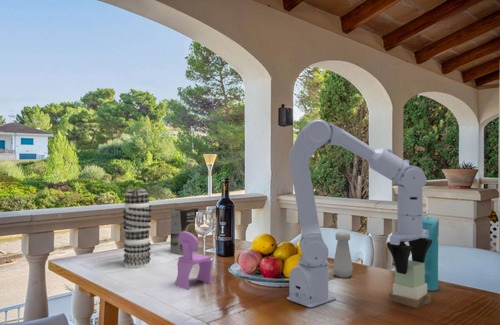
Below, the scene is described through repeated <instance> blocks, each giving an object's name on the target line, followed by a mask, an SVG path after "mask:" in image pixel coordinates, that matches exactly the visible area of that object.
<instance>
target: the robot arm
mask: <svg viewBox="0 0 500 325" xmlns="http://www.w3.org/2000/svg"><path fill="white" fill-rule="evenodd" d="M324 144H326V145H327V146H340V147H341V148H343V149H346V150H347V151H349V152H351V153H353V154H355V155H357V156H359V157H361V158H362V159H364V160H366V161H367V162H368V166H369V168H370V169H371V170H373V171H374V172H377V173H378V174H379V175H382V176H383V177H385V178H387V179H389V180H391V181H393V182H394V183H395V185H396V186H397V198H396V199H397V200H396V202H397V209H396V210H397V217H396V218H397V227H396V228H397V229H396V230H397V231H396V232H395V233H393V234H391V235H389V241H387V243H386V245H387V246H386V247H387V248H388V250H389V252H390V254H391V256H392V258H393V261H394V262H393V263H394V267H395V266H396V270H397V273H401V274H406V273H407V268H408V260H410V259H409V258H410V255H411V261H416V262H421V263H424V261H425V257H426V254H427V251H428V249H429V247H430V245H431V244H432V240H431V239H426V238H428V230H425V229H423V216H424V215H423V213H424V212H423V211H424V210H423V208H424V207H423V205H424V203H423V200H424V199H423V187H425V185H426V184H427V181H428V177H426V175H425V172H424V170H423V169H422V168H421V167H420V166H416V165H410V161H411V160H408V159H402V157H399V156H397V155H396V154H394V153H393V150H392V149H391V148H384V147H381V148H377V149H375V148H374V147H372V146H370V145H369V144H367V143H365V142H364V141H362V140H361V139H359V138H357V137H356V136H354V135H352V134H351V133H350V132H348V131H346V130H345V129H343V128H341V127H339V126H337V125H335V124H332V123H328V122H327V121H326V120H324V119H321V118H314V119H311V120H310V121H308V123H306V124H305V125H304V126H303V127H302V129H300V131H299V132H298V133H297V136H296V138H295V140H294V143H293V145H292V147H291V149H290V151H289V153H288V161H289V166H290V167H289V168H290V173H291V178H292V179H291V180H292V184H293V190H294V196H295V197H294V198H295V201H296V208H297V214H298V218H299V225H300V226H299V227H300V232H301V236H300V237H301V238H300V240H299V249H300V251H301V257H300V258H299V259H298V264H297V265H296V266H294V267H293V268H292V269H291V270H290V273H289V278H288V279H289V281H288V282H289V283H288V287H289V292H288V293H289V296H287V297H286V299H287V300H289V301H291V302H294V303H296V304H300V305H302V306H304V307H307V308H314V307H317V306H319V305H323V304H326V303H329V302H332V301H335V300H336V299H337V297H336V296H335V295H334V296H333V295H331V294H329V261H328V258H329V248H328V246H327V244H326V243H325V242H324V239H323V236H322V232H321V227H320V223H319V222H320V221H319V219H318V210H317V206H316V200H315V194H314V188H313V182H312V175H311V169H310V164H309V160H310V159H311V157H312V156H313V155H314V153H315V152H316V151H317V150H318V149H319V148H321V147H322V146H323V145H324ZM406 243H408V245H407V244H406Z"/></svg>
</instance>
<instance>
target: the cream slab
mask: <svg viewBox="0 0 500 325" xmlns="http://www.w3.org/2000/svg"><path fill="white" fill-rule="evenodd" d="M392 292H393V294H394V295H399V296H403V297H407V298H412V299H416V300H418V299H420V298H421V297H423V296H424V295H426V294H428V290H427V283H425V284H423V285H420V286H418V287H415V288H413V287H409V286H405V285H401V284H397V283H395V282H394V283H392Z"/></svg>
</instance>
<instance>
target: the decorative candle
mask: <svg viewBox="0 0 500 325" xmlns="http://www.w3.org/2000/svg"><path fill="white" fill-rule="evenodd" d="M124 196H125V197H124V200H125V202H124V208H125V209H123V211H122V214H123V216H122V218H123V220H124V221H123V222H122V223H123V225H124V226H123V231H125V238H124V244H123V247H124V249H123V251H124V254H123V257H124V259H123V262H124V264H123V266H124V265H125V266H127V267H141V268H144V267H143V266H146V265H149V264H150V263H151V259H152V258H151V255H152V253H151V252H150V250H152V247H150V246H151V245H152V244H151V242H150V230H151V225H149V223H151V222H152V220H151V219H150V218H151V217H152V215H150V214H149V213H150V212H152V209H151V207H152V205H150V198H149V197H150V192H148V191H147V190H146V189H145V188H129V189H127V191H126V192H125V193H124ZM150 265H151V264H150ZM150 265H149V266H150ZM125 266H124V267H125ZM127 267H126V268H127ZM146 267H147V266H146Z"/></svg>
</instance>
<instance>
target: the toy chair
mask: <svg viewBox="0 0 500 325" xmlns="http://www.w3.org/2000/svg"><path fill="white" fill-rule="evenodd" d="M178 240H179V242H180V244H181V245H182V249H183V254H182V256H178V261H177V275H176V280H175V282H174V284H173V286H175V285H176V286H175V287H178V286H179V287H178V288H182V289H184V290H187V291H190V282H189V281H190V280H189V279H190V274H191V271H192V269H193V267H194V266H195V265H196V264H197V265H198V267H199V271H198V274H197V277H196V279H195V280H198V281H200V282H205V283H207V284H212V265H213V262H212V257H211V256H209V255H208V256H207V255H202V254H200V253H194V252H196V251H195V250H197V249H198V250H199V238H198V239H197V238H196V236H194V235H193V234H191V233H189V232H186V231H183V232H181V233H180V234H179V237H178ZM198 250H197V251H198Z"/></svg>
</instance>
